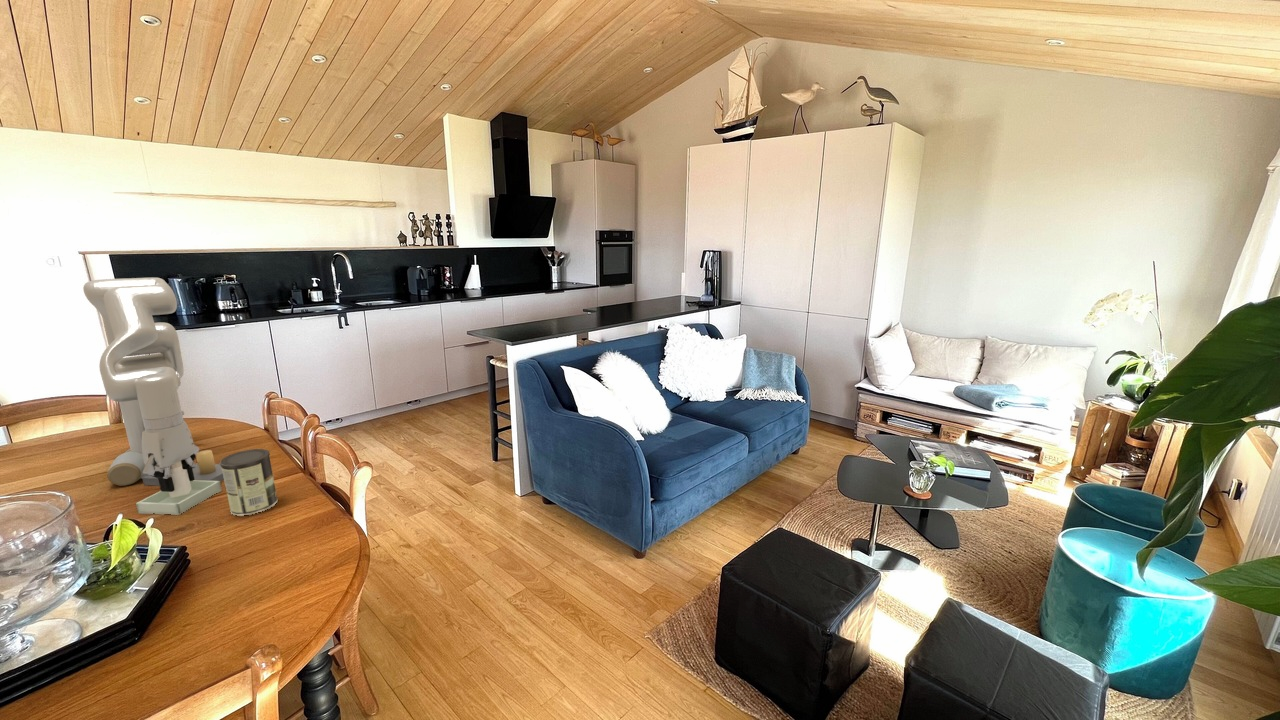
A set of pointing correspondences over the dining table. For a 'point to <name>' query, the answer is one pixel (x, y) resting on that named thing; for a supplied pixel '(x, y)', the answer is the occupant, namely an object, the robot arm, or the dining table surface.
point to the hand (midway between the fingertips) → (178, 485)
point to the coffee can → (249, 481)
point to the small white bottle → (179, 480)
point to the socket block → (197, 469)
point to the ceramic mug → (127, 469)
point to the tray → (178, 499)
